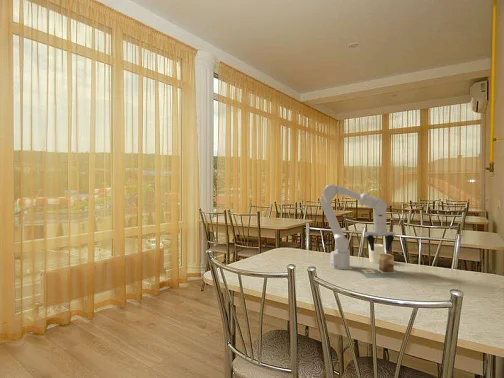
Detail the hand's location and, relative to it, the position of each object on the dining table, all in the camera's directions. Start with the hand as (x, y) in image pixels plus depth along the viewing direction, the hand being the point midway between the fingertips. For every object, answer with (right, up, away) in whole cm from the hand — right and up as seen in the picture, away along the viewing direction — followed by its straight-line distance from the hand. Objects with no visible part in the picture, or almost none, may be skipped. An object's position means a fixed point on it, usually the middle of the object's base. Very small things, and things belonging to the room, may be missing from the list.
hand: (379, 250), depth 163 cm
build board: (-2, -10, -7) cm, 12 cm away
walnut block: (+2, -10, -2) cm, 10 cm away
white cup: (+4, -10, +17) cm, 20 cm away
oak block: (+2, -6, -3) cm, 7 cm away
